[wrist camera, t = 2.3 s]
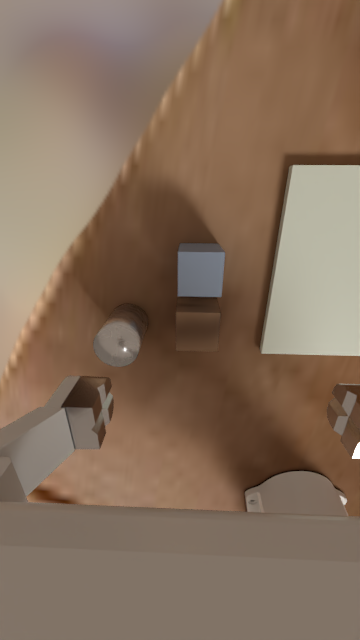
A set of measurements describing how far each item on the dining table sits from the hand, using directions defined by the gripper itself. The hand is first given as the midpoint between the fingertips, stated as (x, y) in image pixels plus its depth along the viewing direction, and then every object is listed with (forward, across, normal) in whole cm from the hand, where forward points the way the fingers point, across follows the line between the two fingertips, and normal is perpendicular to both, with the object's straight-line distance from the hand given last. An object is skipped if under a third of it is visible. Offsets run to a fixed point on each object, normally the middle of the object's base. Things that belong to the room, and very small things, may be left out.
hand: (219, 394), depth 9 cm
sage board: (+23, -16, +1) cm, 28 cm away
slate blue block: (+23, 0, 0) cm, 23 cm away
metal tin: (+23, +9, +8) cm, 26 cm away
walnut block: (+23, 0, +7) cm, 24 cm away
